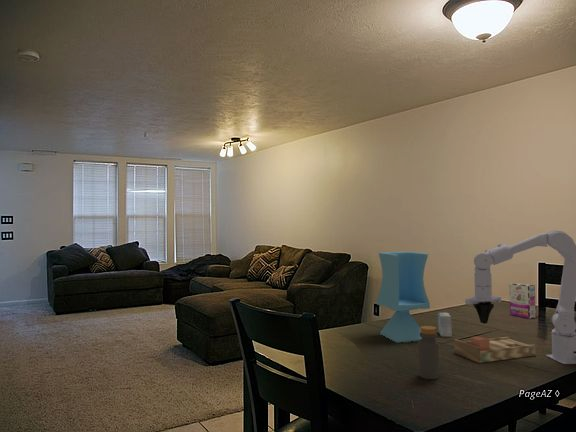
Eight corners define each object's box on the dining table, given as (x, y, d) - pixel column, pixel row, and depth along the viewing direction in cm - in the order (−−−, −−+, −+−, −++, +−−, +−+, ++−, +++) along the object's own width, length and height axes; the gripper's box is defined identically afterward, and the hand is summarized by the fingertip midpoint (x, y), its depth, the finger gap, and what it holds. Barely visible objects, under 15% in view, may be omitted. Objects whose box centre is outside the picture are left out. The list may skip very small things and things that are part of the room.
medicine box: (451, 337, 185) (451, 316, 185) (440, 336, 186) (440, 315, 186) (448, 332, 193) (448, 312, 193) (438, 332, 194) (437, 312, 194)
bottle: (423, 371, 142) (422, 324, 142) (441, 375, 138) (440, 327, 138) (416, 376, 137) (415, 327, 138) (434, 380, 134) (433, 330, 134)
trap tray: (507, 346, 170) (507, 333, 170) (535, 355, 158) (534, 341, 158) (454, 353, 162) (454, 339, 162) (479, 362, 150) (478, 347, 150)
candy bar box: (536, 318, 219) (535, 284, 220) (529, 319, 217) (528, 285, 218) (516, 314, 229) (515, 282, 230) (509, 315, 227) (508, 282, 228)
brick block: (480, 348, 157) (480, 336, 157) (489, 351, 153) (489, 338, 153) (471, 349, 156) (470, 337, 156) (479, 352, 152) (479, 340, 152)
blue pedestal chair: (395, 343, 175) (393, 254, 176) (377, 334, 190) (375, 252, 191) (430, 340, 180) (428, 253, 180) (409, 331, 195) (408, 251, 195)
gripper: (490, 283, 170) (491, 319, 170) (459, 285, 166) (460, 322, 165) (505, 285, 163) (506, 323, 163) (472, 287, 159) (473, 326, 159)
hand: (483, 322), depth 164 cm, fingers closed
